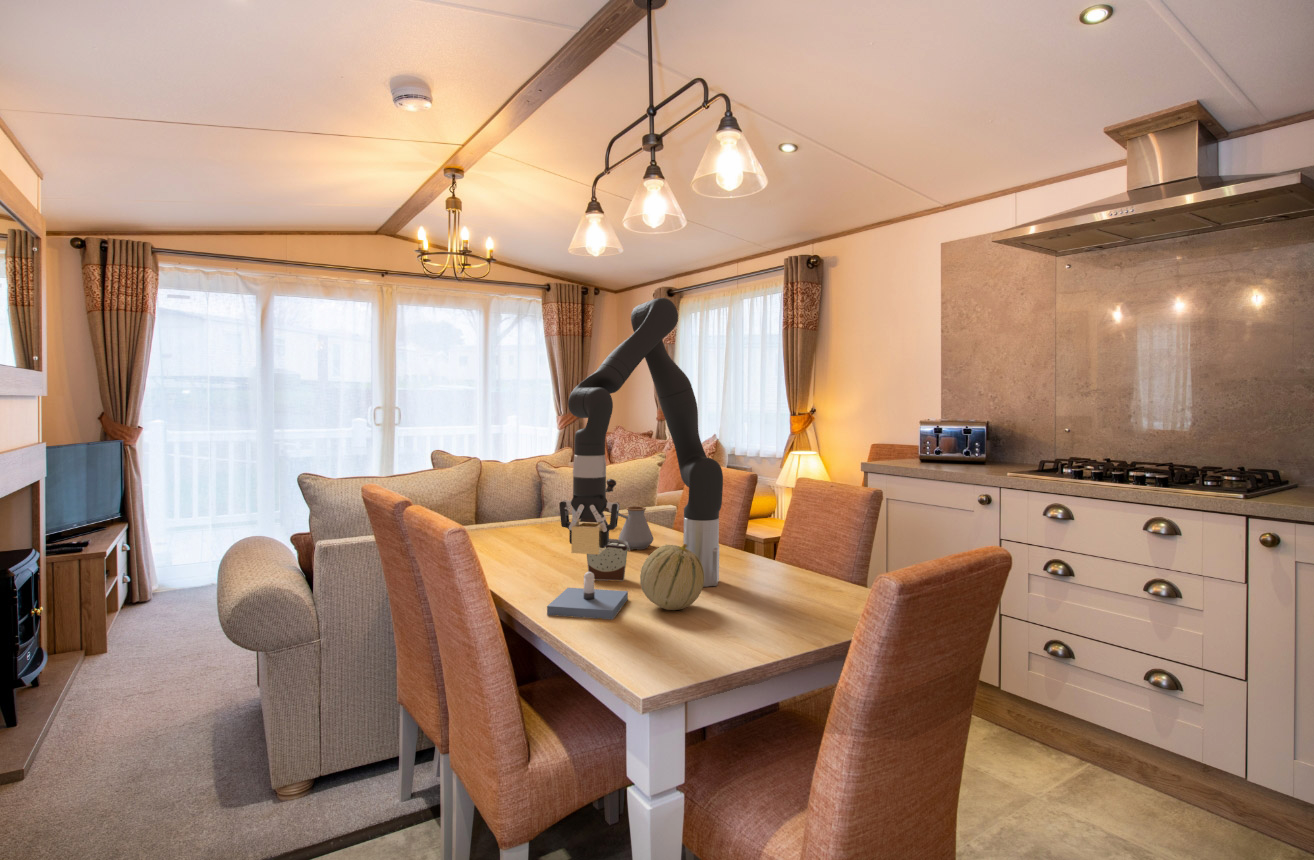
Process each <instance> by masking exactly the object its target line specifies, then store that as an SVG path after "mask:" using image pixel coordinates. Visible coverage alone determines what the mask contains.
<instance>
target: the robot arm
mask: <svg viewBox="0 0 1314 860" xmlns="http://www.w3.org/2000/svg"><path fill="white" fill-rule="evenodd" d="M678 321H679V312H678V309H677V307H676V305H675V303H674V302H673V301H672V300H671V299H668V298H665V297H658V298H654V299H651V300H648V301H646V302H643V303H641V304H638V305H636V306H635V307H633V309H632V311H631V314H630V322H631V323H630V324H631V327H632V330H633V333H632V334H631V335H630V336H629V337H627V338H626V339H625V340H623V341H622V342H621V343H620V344H619V345H618V346H616V347H615V348H614V349H613V350H612V351H611V352H610V353H609V354H608V355H607V356H606V357H605V359H604V360H603V361H602V362H601V364H600V365H599V366H598V368H597V369H596V370H595V371H594V372H593V373H592V374H590V375H588V376H587V377H585V379H583V380H582V381H581V382H580V383H579V384H577V385H576V386H575V387H574V388H573V390H572V391H571V393H570V395H569V397H568V399H567V407H568V410H569V412H570V413H571V414H572V415H573V416H574V417H576V418H580V419H587V422H586V425H585V426H584V428H580V429H578V430H576V431H575V434H574V454H573V455H574V456H573V465H572V475H573V476H572V499H571V500H566V499H564V500H562V501H560V502H559V503H558V504H559V505H558V506H559V516H560V525H561V527H562V528H566V529H568V530H569V541H568V542H569V544H571V545H572V526H574V525H576V524H578V523H579V522H580V520H581V519H586V518H590V519H596V521H597V523H598V524H599V525H600V526H601V529H602V532H601V548H605V547H606V546H607V545H608V543H609V539H610V531H612V530H614V529H616V528H617V527H618V522H619V521H618V519H619V516H618V514H619V513H620V503H619V502H617V501H616V502H611V501H610V502H609V501H608V500H607V492H606V489H607V461H606V437H607V432H608V429H609V426H610V422H611V419H612V418H611V417H612V415H613V414H612V413H613V408H614V402H613V397H612V394H614V393H617V392H618V391H620V390H621V388H622V386H623V385H624V384H625V382H626V381H627V380H628V379H629V378H630V376H631V375H632V373H633V372H634V370H635V369H636V368H637V367H638V366H639V365H640V363H641V362H642V360H645V363H646V365H647V367H648V369H649V374H650V376H651V380H652V382H653V384H654V389H655V391H656V395H657V398H658V402H659V405H660V408H661V411H662V413H663V417H664V419H665V422H666V426H667V428H668V431H669V434H670V437H671V440H672V442H673V446H674V449H675V453H676V458H677V465H678V470H679V473H680V478H681V480H682V482H683V483H684V485H685V486H686V487H687V488H688V500H687V504H686V505H685V506H684V508H683V545H684V544H686V545H687V547H686V549H688V550H690V551H691V552H693V553H694V554H695V555H696V556H697V557H698V559H699V560H700V562H701V564H702V566H703V570H704V585H703V588H705V587H717V586H718V584H719V581H720V545H719V540H720V538H719V535H720V533H719V531H720V511H721V509H722V504H723V493H724V492H723V490H724V489H723V488H724V473H723V470H722V467H721V465H720V463H719V462H718V461H716V460H715V459H713V458H711V457H708V456H707V455H706V454H707V453H706V452H705V450H704V447H703V443H702V440H701V437H700V434H699V432H700V431H699V410H698V409H699V407H698V403H697V399H696V396H695V393H694V389H693V387H692V383H691V381H690V379H689V378H688V376H687V374H686V373H685V372H684V371H683V370H682V368H680V366H678V364H677V363H676V362H675V361H674V360H673V359H672V357H670V355H669V352H668V351H667V349H666V346H665V343H664V340H663V339H664V338H666V337H667V336H668V335H669V334H671V332H672V331H674V329H675V328H676V327H677V325H678ZM571 507H573V508H574V510H575V511H576V513H575V515H574V517H573V519H572V518H571V519H572V520H571V521H570V516H569V515H570V514H569V510H570V509H571ZM605 508H608V509H609V511H610V512H611V513H610V521H609V523H608V521H607V517H606V516H605V514H604V512H605V511H604V510H605ZM601 515H602V516H601ZM683 545H682V546H683Z"/></svg>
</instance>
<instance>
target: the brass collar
mask: <svg viewBox="0 0 1314 860" xmlns="http://www.w3.org/2000/svg"><path fill="white" fill-rule="evenodd" d="M601 532H602V529H601V526H600V525H599V524H598V523H595V522H579V523H578V524H576V525H574V526H572V544H571V554H583V555H587V554H597V555H599V554H600V553H601V552H602V551H604V550H605V549H606V547H605V548H601Z"/></svg>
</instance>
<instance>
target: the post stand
mask: <svg viewBox="0 0 1314 860" xmlns="http://www.w3.org/2000/svg"><path fill="white" fill-rule="evenodd" d="M628 595H629V591H627V590H615V589H614V590H611V589H600V588H599V589H596V588H595V580H594V574H593V573H592V572H588V571H587V572H585V573H584V575H583V588H581V587H567V588H566V589H565V590H563V591H562V592H561V593H560V594H559V595H558V596H557V597H556V598H554V599H553V600H552V601H551V602H549V604H548V605H547V606H546V610H547V611H546V616H555V615H558V616H557V617H569V616H573V617H572V618H583V617H585V619H598V618H602V619H601V620H612V619H613V620H614V619H615V617H616V616H617V615H618V613H619V612H620V610H621V609H622V608H623V607H624V606H625V604H626V602H627V601H628V600H629V596H628ZM627 599H628V600H627ZM624 603H625V604H624Z"/></svg>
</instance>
